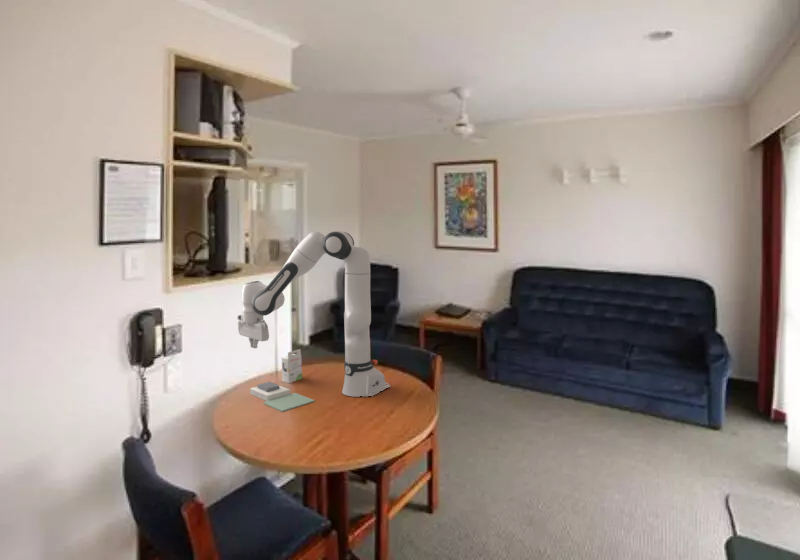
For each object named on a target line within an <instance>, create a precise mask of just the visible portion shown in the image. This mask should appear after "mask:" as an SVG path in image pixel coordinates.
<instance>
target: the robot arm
mask: <svg viewBox="0 0 800 560" xmlns="http://www.w3.org/2000/svg"><path fill="white" fill-rule="evenodd" d="M325 254H327V255H328V256H329V257H331V258H336V259H338V260H342V261H343V262H344V311H343V319H344V320H343V321H344V322H343V323H344V324H343V325H344V327H343V328H344V355H345V356H344V365H343V366H344V379H343V386H342V390H341V393H342V394H343V395H345V396H348V397H355V398H357V397H358V398H359V397H360V396H362V397H368V396H372V397H374V396H373V395H375V394H377V393H379V392H380V391H383V390H384V389H386V388H388V387H390V388H391V384H389V383H388V382H386V377H385V375H384V374H383V372H381V371H379V370H378V369H377V368H375V367H374V365H378V360H377V359H371V338H370V327H371V326H370V325H371V323H372V309H371V306H372V303H371V261H370V255H369V252H368V250H367V249H365V248H364V247H358V246H355V242H354V238H353V236H352V235H351V234H350V233H348V232H346V231H341V230H337V231H331V232H329V233H327V234H326V235H324V234H323V233H321V232H319V231H316V230H315V231H314V230H313V231H311V232H310V233H308V234H307V235H305V237H304V238H303V239H302V240H301V241H300V242H299V243H298V244H297V246H296V247H295V248H294V249H293V251H292V253H291V254H290V256H289V257H288V258H287V260H286V262H285V264H284V265H283V266H282V268H281V269H280V271H278V273H277V274H276V275H275V276H274V278H273V279H272V280H271V282H269V283H268V285H266V284H265V283H263V282H262V281H259V280H255V281H249V282H246V283H245V284H244V285H243V287H242V292H241V293H242V294H241V295H242V296H241V299H242V301H241V303H242V305H243V306H242V307H243V308H242V313H241V314H238V315H237V316H236V317H237V320H238V321H237V326H238V328H237V329H238V330H237V331H238V334H239V336H242V337H246V338H248V341H249V344H250V348H252V349H257V348H258V344H259V342H267V341H269V338H270V332H269V331H270V330H269V326H268V324H267V322H266V321H265V320H264V316H268V315H270V314H271V313H273V312H274V311H277V310H279V309H280V308H281V307H283V306H284V304H285V301H286V299H285V295H284V293H283V292H284V291H285V290H286V289H287V287H288V286H289V285H290V283H292V282H293V281H294V280H296V279H298V278H299V277H301V276H304V275H305V274H307V273H308V272H309V271H311V270H312V269H313V268H314V267H315V266H316V265H317V263H318V262H319V261H320V259H321V258H322V257H323V256H324V255H325ZM386 384H387V385H386ZM383 392H384V391H383ZM379 394H380V393H379ZM377 395H378V394H377ZM375 396H376V395H375Z"/></svg>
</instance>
